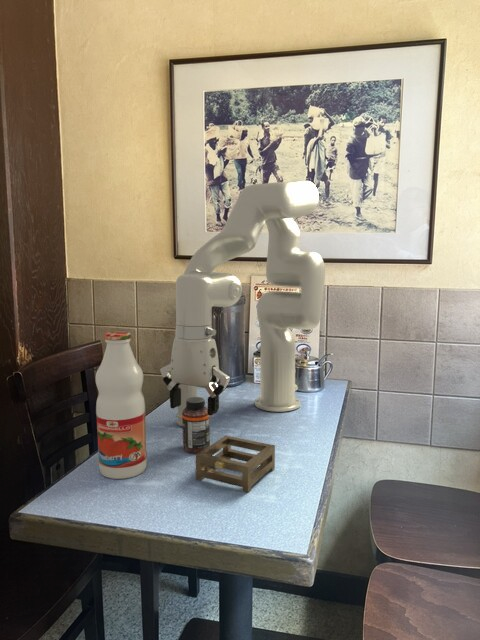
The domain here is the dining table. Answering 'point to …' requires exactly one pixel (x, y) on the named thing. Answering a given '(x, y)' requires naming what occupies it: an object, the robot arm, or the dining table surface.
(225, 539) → the dining table surface
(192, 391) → the pipe
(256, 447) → the collar stand
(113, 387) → the fruit juice
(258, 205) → the robot arm
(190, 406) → the supplement bottle
